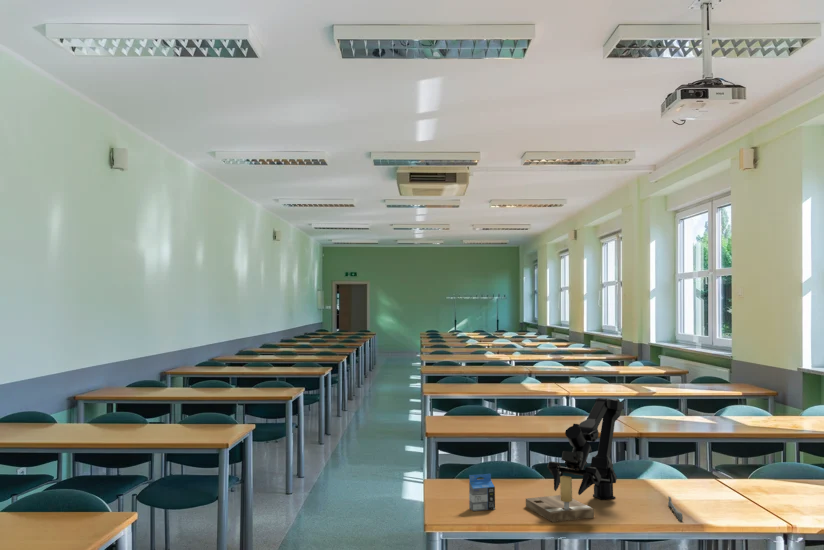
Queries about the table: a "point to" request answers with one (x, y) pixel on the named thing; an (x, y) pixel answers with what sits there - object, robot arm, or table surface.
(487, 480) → the ink cartridge box
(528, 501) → the subfloor panel
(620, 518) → the table surface
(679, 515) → the combination wrench
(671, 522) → the table surface
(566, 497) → the tan handled tool
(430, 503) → the table surface
